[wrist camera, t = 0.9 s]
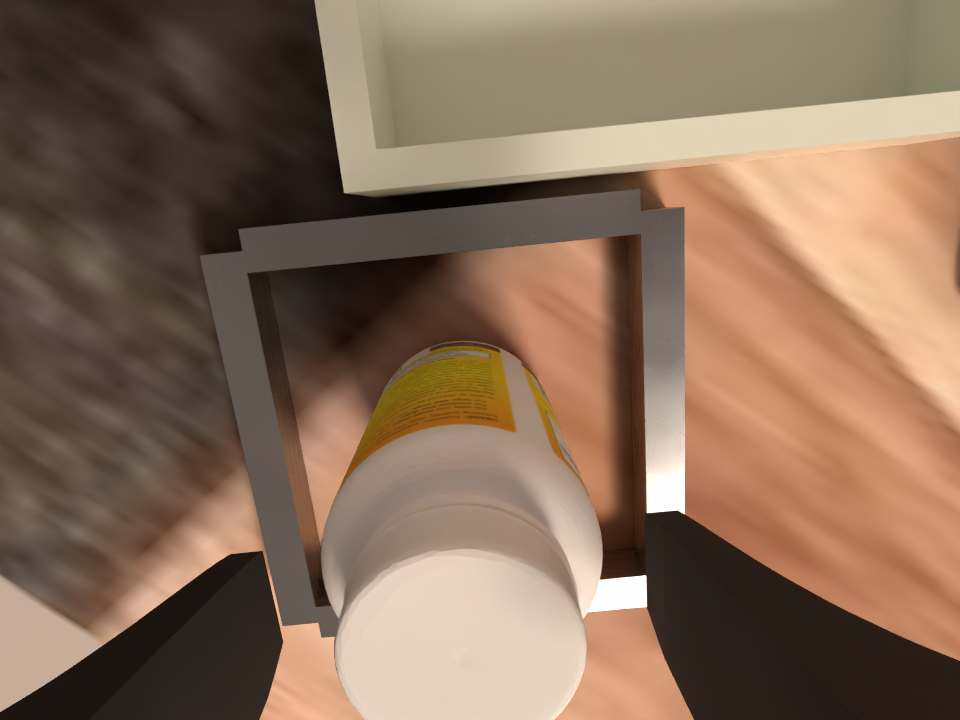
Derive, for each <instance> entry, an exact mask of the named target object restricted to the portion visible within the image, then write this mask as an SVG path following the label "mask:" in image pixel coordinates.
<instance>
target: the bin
mask: <svg viewBox="0 0 960 720" xmlns="http://www.w3.org/2000/svg"><path fill="white" fill-rule="evenodd" d="M314 1H315V7H316V14H317V20H318V27H319V33H320V40H321V46H322V53H323V59H324V66H325V72H326V79H327V85H328V92H329V98H330V105H331V111H332V118H333V124H334V131H335V137H336V144H337V150H338V157H339V163H340V170H341V176H342V183H343V189H344V193H347V194H355V195H362V196H370V197H378V198H380V197H390V196H400V195H410V194H420V193H430V192H440V191H450V190H460V189H470V188H480V187H490V186H500V185H510V184H520V183H530V182H540V181H550V180H560V179H569V178H579V177H589V176H599V175H609V174H619V173H629V172H639V171H649V170H659V169H669V168H679V167H689V166H699V165H709V164H719V163H729V162H739V161H749V160H759V159H769V158H779V157H789V156H799V155H809V154H819V153H828V152H838V151H848V150H858V149H868V148H878V147H888V146H898V145H907V144H914V143H921V142H928V141H935V140H941V139H948V138H955V137H960V0H314Z"/></svg>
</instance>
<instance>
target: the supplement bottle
mask: <svg viewBox="0 0 960 720" xmlns="http://www.w3.org/2000/svg"><path fill="white" fill-rule="evenodd" d="M602 559H603V550H602V537H601V531H600V527H599V523H598V520H597V516H596V513H595V510H594V507H593V504H592V502H591V499H590V497H589V494H588V492H587V490H586V488H585V485H584V483H583V480H582V478H581V476H580V474H579V471H578V469H577V466H576V464H575V462H574V459H573V457H572V455H571V452H570V449H569V447H568V445H567V442H566V440H565V438H564V435H563V433H562V431H561V428H560V426H559V424H558V422H557V419H556V417H555V415H554V412H553V410H552V408H551V405H550V403H549V401H548V399H547V396H546V394H545V392H544V390H543V388H542V386H541V384H540V383H539V381H538V380H537V378H536V376H535V375H534V374H533V373H532V372H531V370H530V369H529V368H528V367H527V366H526V365H525V364H524V363H523V362H521V361H520V360H519V359H518V358H516V357H515V356H514V355H512V354H511V353H509V352H507V351H505V350H503V349H501V348H499V347H496V346H493V345H490V344H486V343H482V342H476V341H451V342H445V343H440V344H437V345H434V346H431V347H429V348H427V349H424V350H422V351H421V352H419V353H417V354H415V355H414V356H412V357H411V358H410V359H409V360H407V361H406V362H405V363H404V364H403V365H402V366H400V368H399V369H398V370H397V371H396V372H395V373H394V374H393V376H392V377H391V379H390V380H389V382H388V383H387V385H386V387H385V388H384V390H383V393H382V395H381V397H380V399H379V401H378V403H377V406H376V408H375V410H374V412H373V415H372V417H371V419H370V421H369V423H368V426H367V428H366V430H365V432H364V435H363V437H362V439H361V441H360V444H359V446H358V448H357V450H356V453H355V455H354V457H353V459H352V461H351V464H350V466H349V468H348V470H347V473H346V475H345V477H344V479H343V481H342V484H341V486H340V488H339V491H338V493H337V495H336V497H335V499H334V501H333V504H332V507H331V509H330V512H329V515H328V518H327V521H326V524H325V528H324V533H323V539H322V546H321V566H322V575H323V580H324V586H325V589H326V592H327V596H328V599H329V601H330V603H331V605H332V608H333V610H334V612H335V613H336V615H337V617H338V618H339V620H338V623H337V628H336V634H335V641H334V658H335V664H336V670H337V674H338V677H339V681H340V684H341V686H342V688H343V690H344V692H345V694H346V696H347V698H348V699H349V701H350V702H351V704H352V705H353V706H354V708H355V709H356V710H357V711H358V712H359V713H360V715H361V716H362V717H363V718H364V719H365V720H554V719H555V718H556V717H557V716H558V715H559V714H560V713H561V712H562V711H563V709H564V708H565V707H566V705H567V704H568V703H569V701H570V700H571V699H572V697H573V695H574V693H575V691H576V689H577V687H578V685H579V683H580V680H581V677H582V674H583V671H584V667H585V661H586V650H587V643H586V632H585V625H584V621H583V619H584V617H585V616H586V614H587V612H588V610H589V608H590V606H591V604H592V602H593V600H594V597H595V595H596V592H597V589H598V585H599V581H600V576H601V569H602Z"/></svg>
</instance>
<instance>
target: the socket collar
mask: <svg viewBox="0 0 960 720" xmlns="http://www.w3.org/2000/svg"><path fill="white" fill-rule="evenodd" d="M238 231H239V236H240V241H241V246H242V250H234V251H224V252H218V253H212V254H206V255H200V260H201V265H202V269H203V274H204V278H205V283H206V287H207V291H208V296H209V300H210V305H211V309H212V314H213V318H214V323H215V327H216V332H217V336H218V340H219V345H220V349H221V354H222V358H223V363H224V367H225V372H226V376H227V380H228V385H229V389H230V394H231V398H232V403H233V407H234V412H235V416H236V420H237V425H238V429H239V434H240V438H241V443H242V447H243V452H244V456H245V461H246V465H247V469H248V474H249V478H250V483H251V487H252V492H253V496H254V501H255V505H256V509H257V514H258V518H259V523H260V527H261V532H262V536H263V541H264V545H265V549H266V554H267V558H268V563H269V567H270V572H271V576H272V581H273V585H274V590H275V594H276V598H277V603H278V607H279V612H280V616H281V621H282V625H283V626H288V625H299V624H309V623H319V627H320V632H321V637H322V638H323V637H333V636H335V634H336V628H337V623H338V620H339V618H338V617H337V615H336V613H335V612H334V610H333V608H332V605H331V603H330V601H329V599H328V596H327V592H326V589H325V586H324V580H323V575H322V566H321V547H320V542H319V537H318V532H317V527H316V522H315V516H314V511H313V506H312V501H311V496H310V491H309V486H308V481H307V475H306V470H305V465H304V460H303V455H302V450H301V445H300V440H299V434H298V429H297V424H296V419H295V414H294V409H293V404H292V399H291V393H290V388H289V383H288V378H287V373H286V368H285V363H284V358H283V352H282V347H281V342H280V337H279V332H278V327H277V322H276V317H275V311H274V306H273V301H272V296H271V291H270V286H269V281H268V276H267V271H274V270H284V269H294V268H304V267H314V266H324V265H334V264H344V263H354V262H364V261H374V260H384V259H394V258H404V257H414V256H424V255H434V254H444V253H454V252H464V251H474V250H484V249H494V248H504V247H514V246H524V245H534V244H544V243H554V242H564V241H574V240H584V239H594V238H604V237H614V236H624V235H627V270H628V306H629V343H630V379H631V416H632V452H633V489H634V525H635V549H626V550H616V551H605V552H603V559H602V569H601V576H600V581H599V585H598V589H597V592H596V595H595V597H594V600H593V602H592V604H591V606H590V608H589V610H588V612H594V611H605V610H615V609H626V608H636V607H646V606H647V594H646V549H645V513H654V512H664V511H674V510H678V511H680V512H681V513H683V514H685V341H684V207H664V208H654V209H644V210H641V200H640V189H633V190H623V191H613V192H603V193H593V194H583V195H573V196H563V197H553V198H543V199H533V200H523V201H513V202H503V203H493V204H483V205H473V206H463V207H453V208H443V209H433V210H423V211H414V212H404V213H394V214H384V215H374V216H364V217H354V218H344V219H334V220H324V221H314V222H304V223H294V224H284V225H274V226H264V227H254V228H244V229H238Z"/></svg>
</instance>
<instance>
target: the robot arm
mask: <svg viewBox="0 0 960 720" xmlns="http://www.w3.org/2000/svg"><path fill="white" fill-rule="evenodd" d="M645 549H646V594H647V609H648V612H649V615H650V617H651V620H652V623H653V626H654V629H655V632H656V635H657V638H658V641H659V644H660V646H661V649H662V652H663V655H664V658H665V660H666V662H667V664H668V666H669V669H670V671H671V673H672V675H673V677H674V679H675V681H676V683H677V685H678V687H679V689H680V691H681V694H682V696H683V698H684V700H685V702H686V704H687V706H688V708H689V710H690V712H691V714H692V716H693V718H694V720H960V661H958V660H956V659H953V658H951V657H948V656H946V655H943V654H941V653H938V652H936V651H933V650H931V649H928V648H926V647H924V646H921V645H919V644H917V643H914V642H912V641H910V640H907V639H905V638H903V637H901V636H898V635H896V634H894V633H892V632H890V631H888V630H886V629H883V628H881V627H879V626H877V625H875V624H873V623H871V622H869V621H866V620H864V619H862V618H860V617H858V616H856V615H854V614H852V613H850V612H848V611H846V610H844V609H842V608H840V607H838V606H836V605H834V604H832V603H830V602H828V601H826V600H824V599H823V598H821V597H819V596H817V595H815V594H814V593H812V592H810V591H808V590H806V589H805V588H803V587H801V586H799V585H797V584H796V583H794V582H792V581H790V580H788V579H787V578H785V577H783V576H782V575H780V574H778V573H777V572H775V571H773V570H771V569H770V568H768V567H767V566H765V565H763V564H762V563H760V562H758V561H757V560H755V559H753V558H752V557H750V556H749V555H747V554H745V553H744V552H742V551H741V550H739V549H738V548H736V547H734V546H733V545H731V544H730V543H728V542H727V541H725V540H724V539H722V538H721V537H719V536H718V535H716V534H714V533H713V532H711V531H710V530H708V529H707V528H705V527H704V526H702V525H701V524H699V523H698V522H696V521H694V520H693V519H691V518H690V517H688V516H686V515H685V514H683V513H681V512H680V511H678V510H674V511H664V512H654V513H645ZM282 644H283V639H282V635H281V630H280V626H279V622H278V617H277V613H276V608H275V604H274V599H273V595H272V591H271V586H270V582H269V577H268V573H267V569H266V564H265V560H264V555H263V551H258V552H248V553H238V554H230V555H228V556H227V557H225V558H224V559H222V560H220V561H219V562H217V563H216V564H214V565H213V566H212V567H210V568H209V569H207V570H206V571H205V572H203V573H202V574H200V575H199V576H198V577H196V578H195V579H194V580H192V581H191V582H190V583H188V584H187V585H185V586H184V587H183V588H181V589H180V590H179V591H177V592H176V593H175V594H173V595H172V596H171V597H169V598H168V599H167V600H165V601H164V602H163V603H161V604H160V605H159V606H157V607H156V608H155V609H153V610H152V611H150V612H149V613H148V614H146V615H145V616H144V617H142V618H141V619H140V620H138V621H137V622H136V623H134V624H133V625H132V626H130V627H129V628H127V629H126V630H125V631H123V632H122V633H120V634H119V635H117V636H116V637H114V638H113V639H112V640H110V641H109V642H107V643H106V644H104V645H103V646H102V647H100V648H99V649H97V650H96V651H94V652H93V653H92V654H90V655H89V656H87V657H86V658H84V659H83V660H81V661H80V662H79V663H77V664H76V665H74V666H73V667H71V668H70V669H68V670H67V671H65V672H64V673H62V674H61V675H60V676H58V677H57V678H55V679H53V680H52V681H50V682H49V683H47V684H45V685H44V686H43V687H41V688H39V689H38V690H36V691H34V692H33V693H31V694H30V695H28V696H26V697H25V698H23V699H21V700H20V701H18V702H16V703H15V704H13V705H11V706H10V707H8V708H6V709H5V710H3V711H2V712H0V720H259V719H260V716H261V714H262V711H263V709H264V706H265V704H266V701H267V699H268V696H269V692H270V689H271V685H272V682H273V678H274V675H275V672H276V668H277V664H278V660H279V656H280V652H281V648H282Z"/></svg>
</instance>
